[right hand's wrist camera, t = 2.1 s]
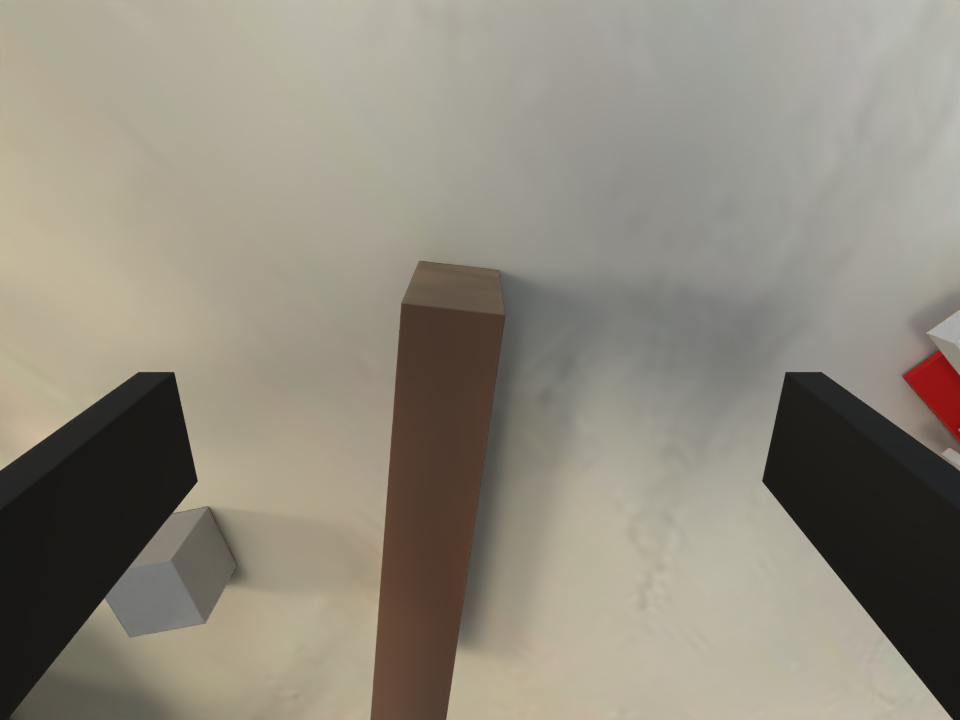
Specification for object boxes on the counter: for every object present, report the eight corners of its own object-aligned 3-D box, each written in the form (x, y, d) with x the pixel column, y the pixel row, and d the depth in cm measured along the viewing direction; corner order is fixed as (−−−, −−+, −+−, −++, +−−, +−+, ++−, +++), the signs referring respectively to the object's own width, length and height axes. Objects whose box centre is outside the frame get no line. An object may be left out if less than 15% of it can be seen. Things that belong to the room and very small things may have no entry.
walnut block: (389, 617, 41) (370, 724, 34) (419, 260, 31) (401, 302, 24) (450, 622, 41) (444, 730, 34) (498, 270, 32) (505, 314, 24)
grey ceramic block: (169, 578, 40) (129, 638, 35) (137, 520, 38) (90, 575, 33) (237, 565, 39) (205, 623, 35) (208, 506, 38) (170, 560, 33)
